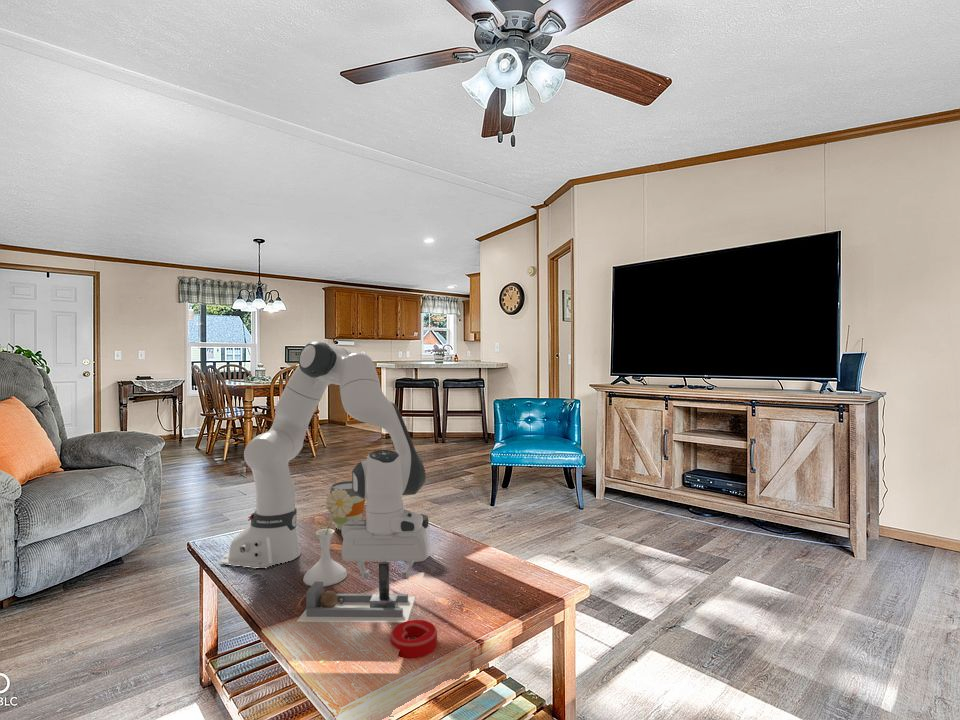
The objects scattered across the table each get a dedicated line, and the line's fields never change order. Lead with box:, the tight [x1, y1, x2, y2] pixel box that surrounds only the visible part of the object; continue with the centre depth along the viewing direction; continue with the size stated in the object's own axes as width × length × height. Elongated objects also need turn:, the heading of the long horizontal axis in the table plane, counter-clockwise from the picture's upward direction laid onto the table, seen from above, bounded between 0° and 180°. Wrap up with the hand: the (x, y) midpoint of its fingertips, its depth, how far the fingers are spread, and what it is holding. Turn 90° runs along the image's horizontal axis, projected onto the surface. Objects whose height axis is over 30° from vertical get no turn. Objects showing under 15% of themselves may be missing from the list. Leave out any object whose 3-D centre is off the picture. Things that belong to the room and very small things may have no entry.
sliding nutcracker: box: [296, 582, 417, 623], centre depth 115 cm, size 25×12×6 cm, turn 89°
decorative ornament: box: [390, 619, 438, 660], centre depth 103 cm, size 10×10×3 cm
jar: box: [414, 513, 431, 563], centre depth 149 cm, size 9×8×12 cm
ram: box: [370, 561, 399, 608], centre depth 115 cm, size 6×3×10 cm, turn 89°
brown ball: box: [320, 590, 338, 608], centre depth 115 cm, size 4×4×4 cm
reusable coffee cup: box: [329, 480, 366, 531], centre depth 178 cm, size 13×13×15 cm
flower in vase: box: [302, 489, 353, 587], centre depth 133 cm, size 13×11×25 cm
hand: (385, 578), depth 115 cm, fingers open, 8 cm apart
